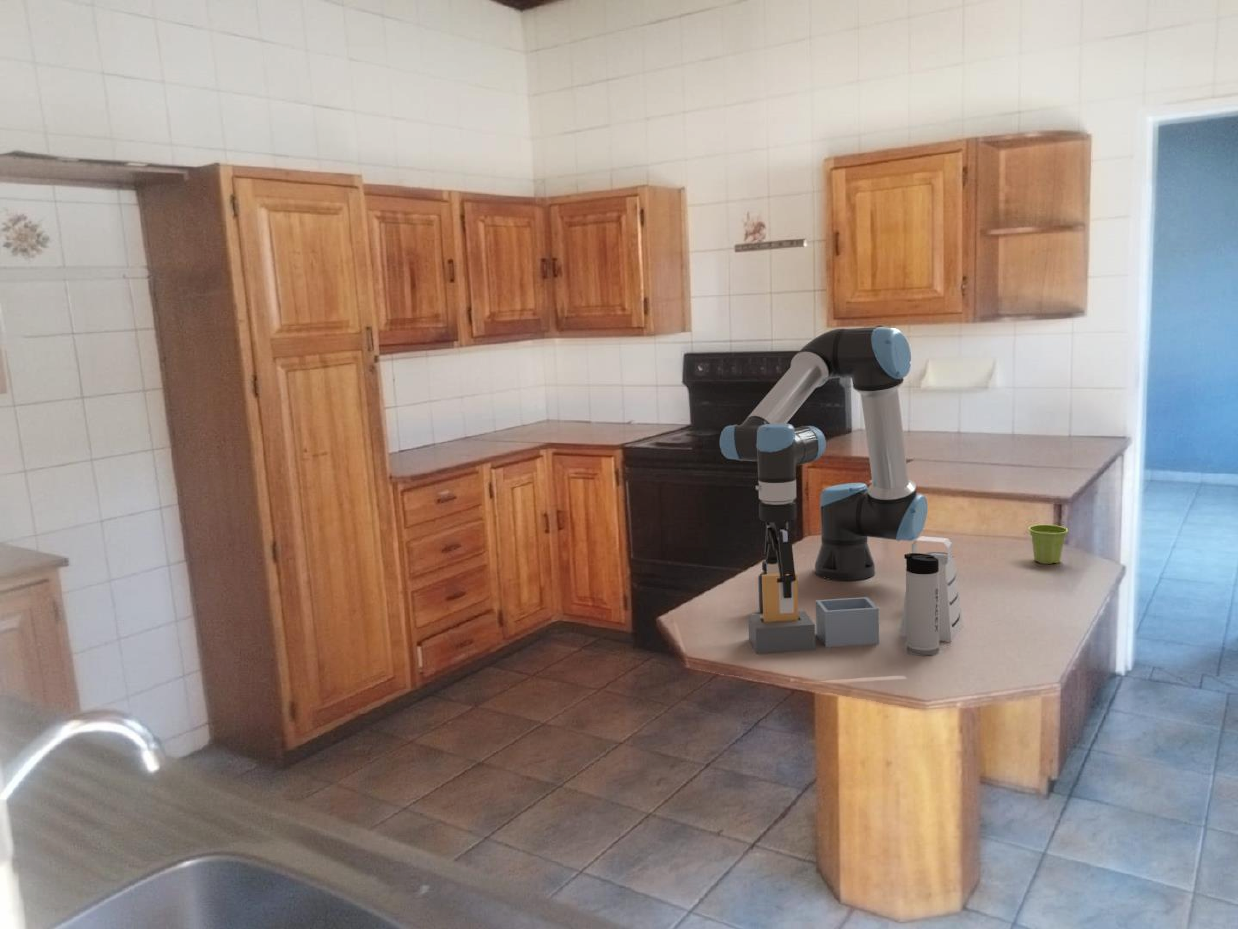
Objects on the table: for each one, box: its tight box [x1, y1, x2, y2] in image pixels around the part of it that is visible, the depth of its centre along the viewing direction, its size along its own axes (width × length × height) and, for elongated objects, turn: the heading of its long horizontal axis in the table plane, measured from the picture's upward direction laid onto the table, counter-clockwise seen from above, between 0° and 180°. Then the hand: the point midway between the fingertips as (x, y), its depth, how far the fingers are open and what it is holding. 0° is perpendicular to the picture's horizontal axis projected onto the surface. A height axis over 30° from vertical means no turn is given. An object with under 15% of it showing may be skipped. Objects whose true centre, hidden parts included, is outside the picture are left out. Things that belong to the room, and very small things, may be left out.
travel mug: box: [904, 552, 940, 657], centre depth 194 cm, size 6×7×20 cm
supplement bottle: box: [757, 559, 778, 614], centre depth 224 cm, size 7×7×12 cm
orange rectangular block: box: [762, 571, 799, 622], centre depth 201 cm, size 7×2×15 cm, turn 92°
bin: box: [815, 596, 880, 648], centre depth 203 cm, size 8×11×8 cm
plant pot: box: [1028, 524, 1069, 565], centre depth 253 cm, size 9×9×9 cm
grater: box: [899, 535, 964, 643], centre depth 205 cm, size 10×10×20 cm
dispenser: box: [747, 610, 816, 655], centre depth 201 cm, size 12×9×6 cm
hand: (780, 603), depth 200 cm, fingers open, 12 cm apart
